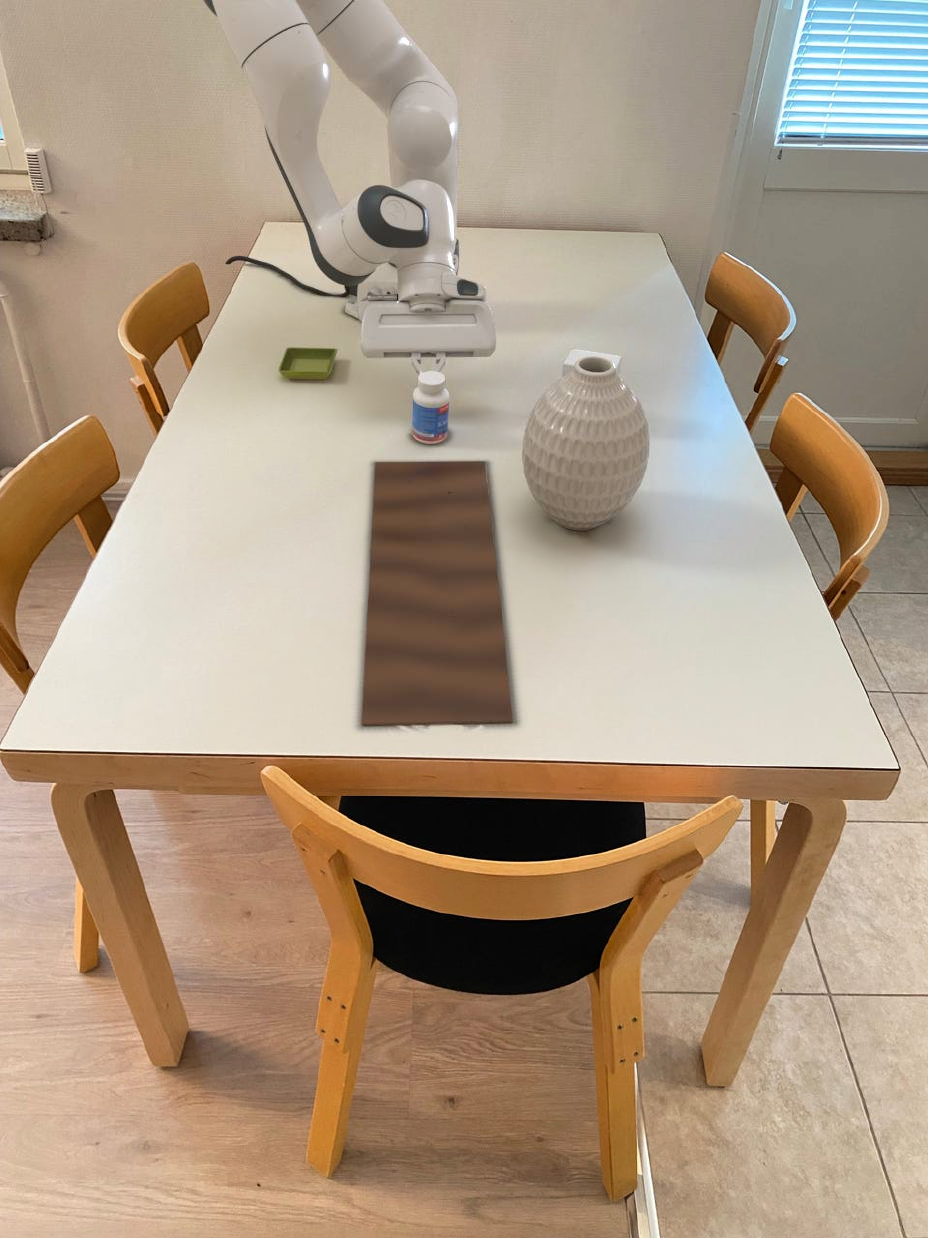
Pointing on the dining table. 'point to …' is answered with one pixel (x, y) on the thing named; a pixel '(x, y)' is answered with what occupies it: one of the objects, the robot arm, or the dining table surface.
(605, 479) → the vase
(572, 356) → the small box
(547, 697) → the dining table surface
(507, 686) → the board
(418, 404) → the pill bottle
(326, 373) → the green square tray
